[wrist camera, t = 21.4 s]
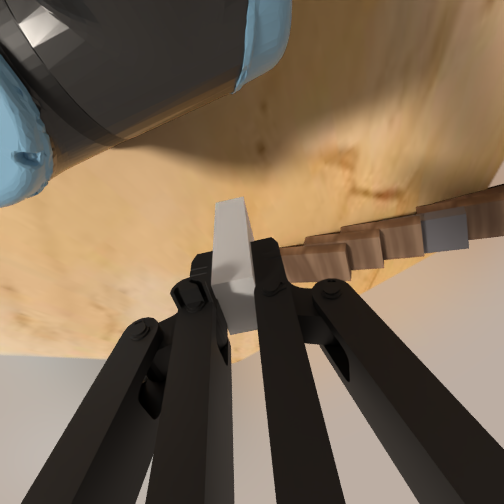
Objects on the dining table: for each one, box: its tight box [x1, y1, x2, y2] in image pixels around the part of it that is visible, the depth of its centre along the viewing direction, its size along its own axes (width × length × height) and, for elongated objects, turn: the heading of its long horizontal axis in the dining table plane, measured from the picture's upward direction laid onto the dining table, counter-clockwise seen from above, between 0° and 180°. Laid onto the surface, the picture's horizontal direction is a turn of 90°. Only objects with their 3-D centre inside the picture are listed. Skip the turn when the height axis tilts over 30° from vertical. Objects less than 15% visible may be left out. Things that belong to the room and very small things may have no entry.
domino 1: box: [279, 243, 351, 283], centre depth 49 cm, size 2×6×11 cm
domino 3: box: [340, 215, 424, 260], centre depth 47 cm, size 2×6×11 cm
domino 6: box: [416, 192, 504, 240], centre depth 45 cm, size 2×6×11 cm
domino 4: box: [381, 206, 469, 253], centre depth 46 cm, size 2×6×11 cm
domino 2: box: [304, 229, 384, 270], centre depth 48 cm, size 2×6×11 cm
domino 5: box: [434, 184, 504, 204], centre depth 48 cm, size 2×6×11 cm
